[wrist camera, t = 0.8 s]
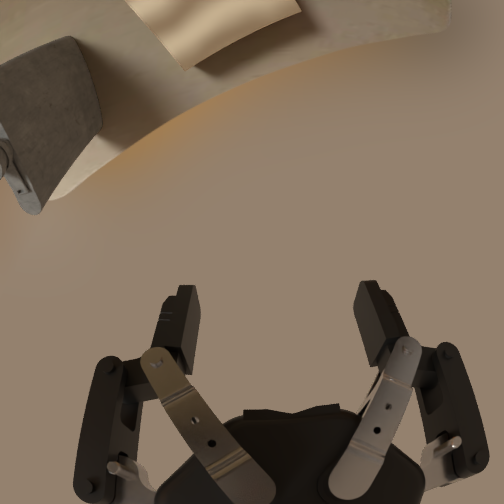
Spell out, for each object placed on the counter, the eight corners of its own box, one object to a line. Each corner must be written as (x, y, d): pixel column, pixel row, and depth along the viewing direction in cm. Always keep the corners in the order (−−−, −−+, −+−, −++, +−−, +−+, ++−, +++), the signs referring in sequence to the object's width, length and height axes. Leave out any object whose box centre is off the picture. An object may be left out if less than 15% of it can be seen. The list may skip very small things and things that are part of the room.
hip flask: (54, 42, 21) (-57, 106, 8) (78, 29, 20) (-38, 83, 8) (88, 134, 33) (17, 235, 20) (110, 126, 33) (41, 229, 20)
